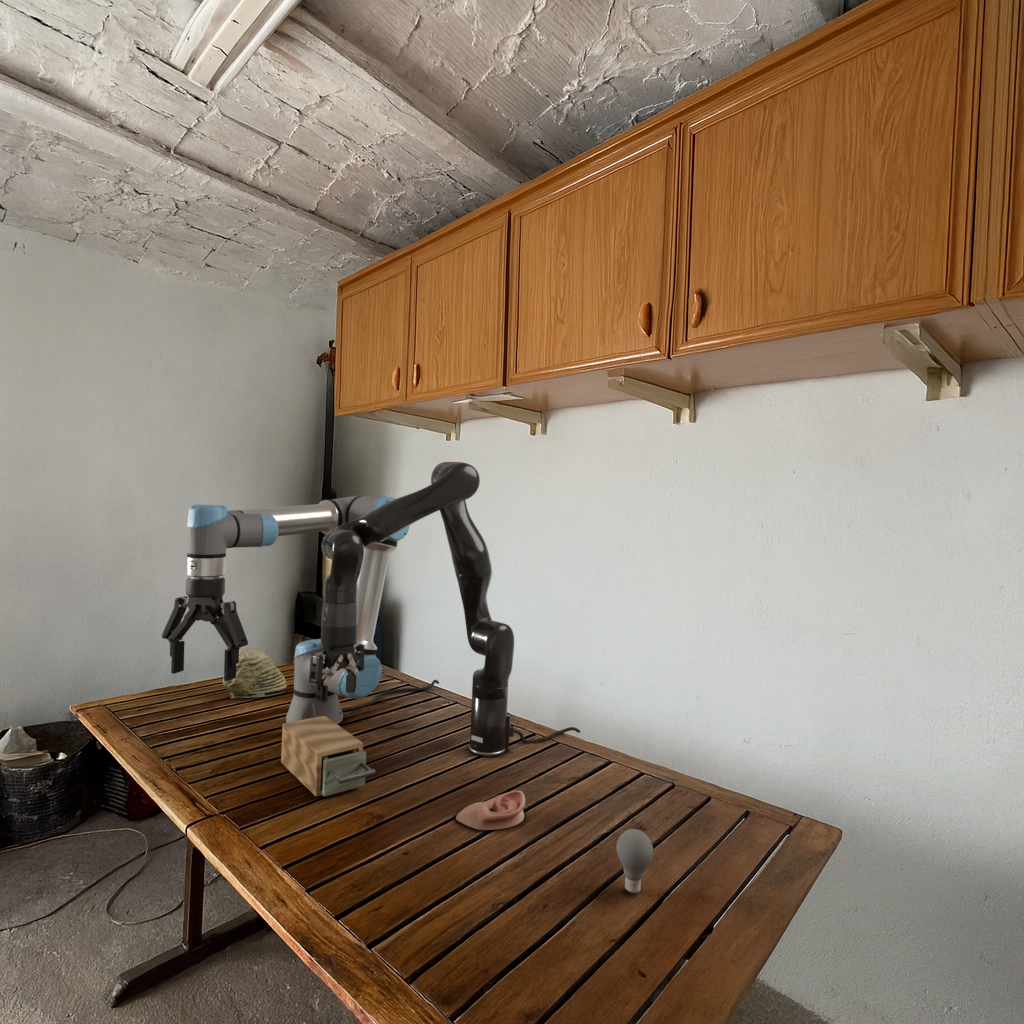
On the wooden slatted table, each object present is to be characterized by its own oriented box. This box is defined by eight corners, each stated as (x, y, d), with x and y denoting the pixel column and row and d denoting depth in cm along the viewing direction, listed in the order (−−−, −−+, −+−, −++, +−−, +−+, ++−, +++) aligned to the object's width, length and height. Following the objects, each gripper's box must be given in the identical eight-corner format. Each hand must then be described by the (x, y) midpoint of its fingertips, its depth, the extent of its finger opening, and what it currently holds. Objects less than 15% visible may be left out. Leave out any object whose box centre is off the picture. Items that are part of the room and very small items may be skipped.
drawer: (377, 795, 133) (378, 761, 133) (335, 807, 127) (337, 771, 127) (328, 755, 153) (329, 725, 152) (290, 764, 147) (291, 732, 147)
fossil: (218, 695, 195) (220, 647, 195) (278, 685, 208) (279, 640, 207) (228, 703, 189) (230, 653, 188) (289, 692, 201) (290, 645, 201)
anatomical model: (452, 805, 124) (467, 780, 135) (451, 826, 124) (467, 799, 135) (518, 815, 121) (529, 789, 132) (517, 836, 121) (528, 808, 132)
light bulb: (610, 879, 108) (613, 822, 108) (644, 879, 109) (647, 822, 109) (619, 902, 102) (622, 840, 102) (655, 901, 103) (658, 840, 103)
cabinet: (361, 784, 140) (363, 742, 140) (315, 796, 134) (317, 753, 133) (323, 752, 156) (324, 715, 156) (281, 762, 150) (282, 723, 149)
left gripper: (144, 574, 135) (142, 673, 135) (243, 583, 128) (240, 687, 129) (172, 571, 142) (170, 664, 143) (267, 579, 135) (264, 677, 136)
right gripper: (328, 629, 128) (325, 709, 128) (375, 619, 141) (372, 692, 141) (301, 624, 132) (298, 702, 132) (349, 615, 144) (346, 686, 145)
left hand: (203, 675), depth 136 cm, fingers open, 13 cm apart
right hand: (336, 696), depth 136 cm, fingers open, 8 cm apart
